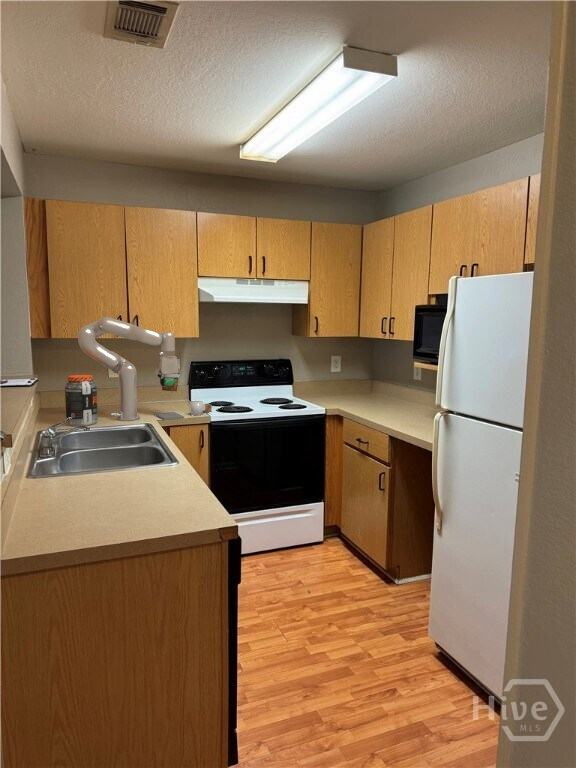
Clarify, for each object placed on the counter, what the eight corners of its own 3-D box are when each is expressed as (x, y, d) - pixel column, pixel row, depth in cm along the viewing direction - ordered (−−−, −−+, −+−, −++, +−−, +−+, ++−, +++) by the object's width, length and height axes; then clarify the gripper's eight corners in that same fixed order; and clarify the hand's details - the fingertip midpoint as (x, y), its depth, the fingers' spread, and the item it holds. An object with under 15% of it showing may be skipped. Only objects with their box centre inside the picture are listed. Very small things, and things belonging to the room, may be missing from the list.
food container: (155, 389, 295) (156, 372, 294) (162, 389, 300) (163, 372, 300) (171, 391, 289) (172, 373, 288) (178, 391, 294) (179, 373, 294)
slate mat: (163, 420, 288) (163, 418, 288) (154, 415, 301) (154, 413, 301) (184, 418, 294) (184, 416, 294) (173, 413, 307) (173, 411, 307)
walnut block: (205, 413, 309) (205, 405, 308) (199, 412, 312) (199, 404, 312) (211, 412, 313) (211, 404, 312) (206, 411, 316) (206, 403, 315)
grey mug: (193, 416, 299) (193, 403, 298) (189, 414, 305) (188, 401, 304) (207, 415, 304) (207, 402, 303) (202, 413, 310) (202, 400, 308)
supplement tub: (100, 425, 272) (98, 376, 269) (68, 427, 264) (66, 378, 261) (94, 419, 286) (93, 373, 283) (64, 422, 278) (62, 374, 275)
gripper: (155, 354, 285) (156, 386, 287) (185, 354, 295) (185, 384, 297) (151, 354, 291) (151, 385, 294) (180, 353, 301) (180, 383, 303)
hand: (168, 384), depth 295 cm, fingers closed on food container, 6 cm apart
